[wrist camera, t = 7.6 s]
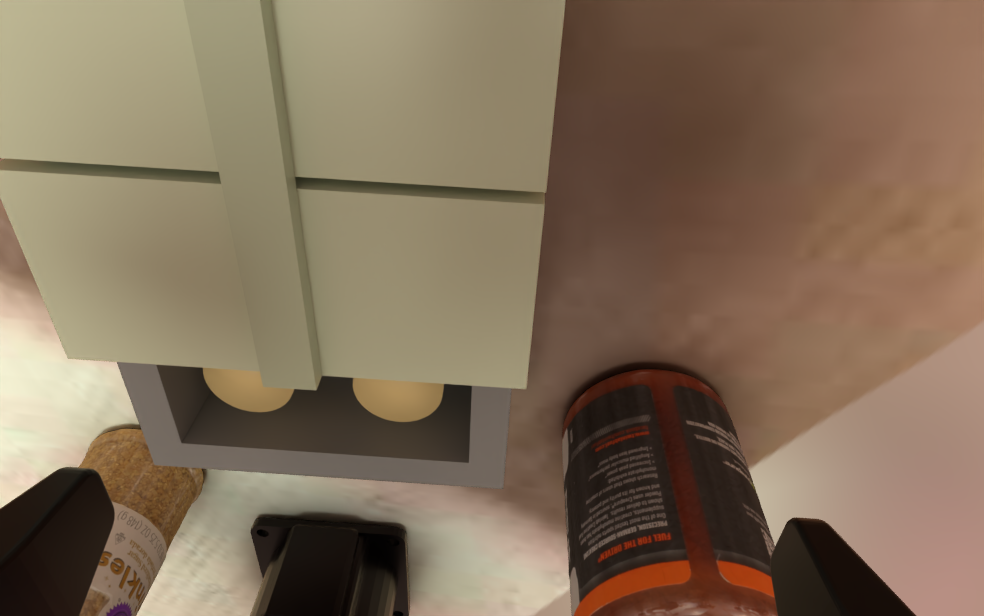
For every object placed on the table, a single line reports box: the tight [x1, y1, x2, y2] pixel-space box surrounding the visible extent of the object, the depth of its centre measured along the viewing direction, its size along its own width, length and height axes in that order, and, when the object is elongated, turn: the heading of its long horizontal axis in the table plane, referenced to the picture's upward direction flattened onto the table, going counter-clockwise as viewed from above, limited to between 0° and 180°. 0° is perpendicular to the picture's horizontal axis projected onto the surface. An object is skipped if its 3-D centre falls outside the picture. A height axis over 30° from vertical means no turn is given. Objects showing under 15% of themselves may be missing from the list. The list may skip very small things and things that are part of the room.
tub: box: [117, 362, 512, 489], centre depth 17 cm, size 14×10×5 cm
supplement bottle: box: [562, 369, 778, 616], centre depth 20 cm, size 6×6×11 cm
